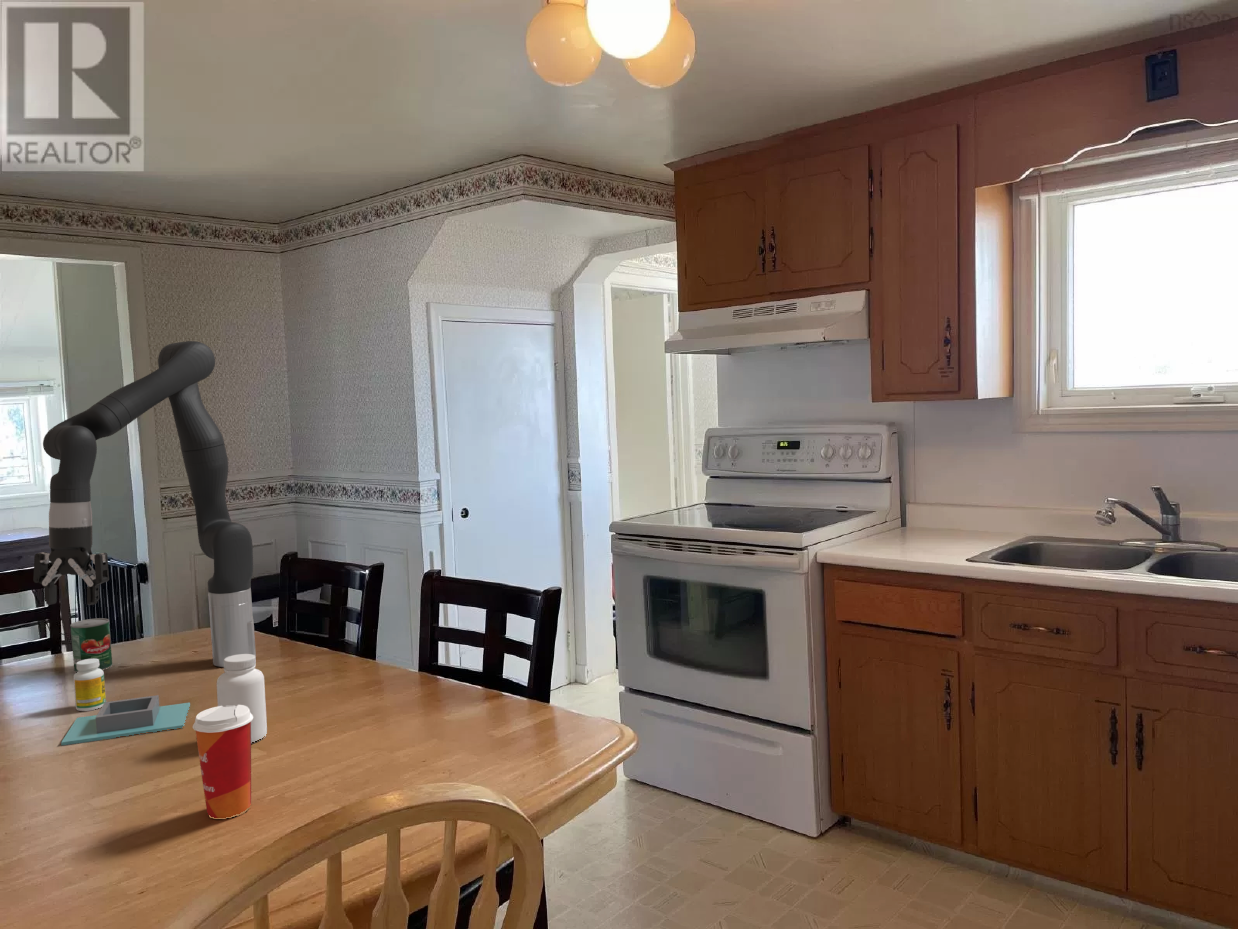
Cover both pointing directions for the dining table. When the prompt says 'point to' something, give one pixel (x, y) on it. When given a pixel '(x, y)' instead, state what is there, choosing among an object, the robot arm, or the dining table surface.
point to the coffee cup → (225, 758)
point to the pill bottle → (244, 690)
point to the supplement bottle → (89, 685)
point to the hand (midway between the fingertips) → (71, 604)
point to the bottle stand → (127, 720)
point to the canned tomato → (91, 641)
